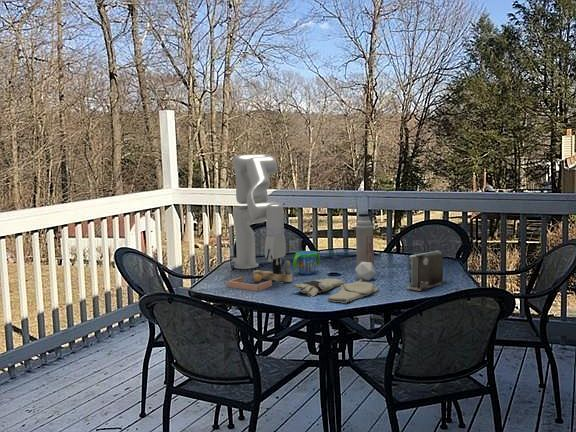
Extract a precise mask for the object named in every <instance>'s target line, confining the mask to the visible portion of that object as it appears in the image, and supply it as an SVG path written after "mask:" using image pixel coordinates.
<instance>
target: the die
mask: <svg viewBox="0 0 576 432" xmlns="http://www.w3.org/2000/svg"><path fill="white" fill-rule="evenodd" d="M354 271H355V274H356V276H357V278H358V281H359V280H360V279H362V280H363V281H366V282H369V281H370V280H371V279H372V278H373V277H374V275H376V273H377V272H376V269H375V266H374V267H373V265H372V263H370V262H361V263H360V264H359V265H358V266H357V265H356V267H355V268H354Z"/></svg>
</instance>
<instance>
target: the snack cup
mask: <svg viewBox="0 0 576 432" xmlns="http://www.w3.org/2000/svg"><path fill="white" fill-rule="evenodd" d="M320 264H321V258H320V254H319V253H318V251H315V250H302V251H301V250H299V251H297V252H295V255H294V257H293V260H292V268H294V269H295V270H296V269H298V273H299V274H301V275H312V274H315V273H316V267H317V266H316V265H320Z"/></svg>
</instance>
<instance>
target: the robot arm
mask: <svg viewBox="0 0 576 432" xmlns="http://www.w3.org/2000/svg"><path fill="white" fill-rule="evenodd" d="M232 167H233V171H234V174H235V199H236V202H237V203H238V204H241V205H240V206H239V205H238V206H236V207H235V208H234V209H233V210H232V218H233V224H234V232H235V246H236V247H235V248H236V249H235V251H236V257H233V258H232V259H231V262H232V263H234V265H233V267H234V268H235V269H238V270H247V269H248V270H250V269H255V268H258V267H259V263H258V262H256V241H255V232H254V230H253V228H252V227H251V226H250V225H253V224H263V223H266V224H265V226H266V237H265V245H264V257H265V259H267V261H268V263H271V265H272V272H273V274H281V270H282V262H283V260H284V259H285V256H286V254H287V248H286V247H287V244H286V238H285V225H284V224H285V222H284V206H283V204H282V203H279V202H278V201H268V189H269V188H270V185H271V181H270V178H269V175H274V174H275V173H277V170H278V163H277V161H276V158H275V157H274V156H273V155H270V154H268V153H249V154H247V153H246V154H238V155H235V156H234V157H233V159H232Z"/></svg>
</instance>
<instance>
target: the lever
mask: <svg viewBox="0 0 576 432" xmlns="http://www.w3.org/2000/svg"><path fill="white" fill-rule="evenodd" d="M256 274H260V275H261V277H262V279H263V280H267V281H269V280H272V281H276V280H277V281H285V282H287V283H290V282H292V281H293V279H294V278H293V273H292V272H291V260H285V261H284V269H281V274H273V271H267V270H258V269H256V270H253V271H252V278H253V279H254V276H255V275H256ZM262 279H261V280H262Z"/></svg>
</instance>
